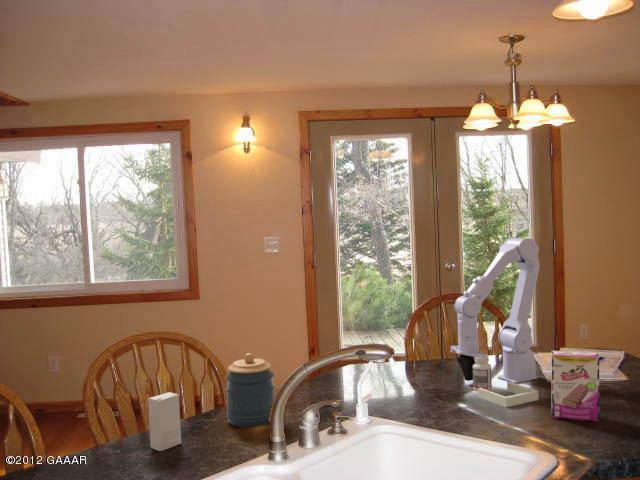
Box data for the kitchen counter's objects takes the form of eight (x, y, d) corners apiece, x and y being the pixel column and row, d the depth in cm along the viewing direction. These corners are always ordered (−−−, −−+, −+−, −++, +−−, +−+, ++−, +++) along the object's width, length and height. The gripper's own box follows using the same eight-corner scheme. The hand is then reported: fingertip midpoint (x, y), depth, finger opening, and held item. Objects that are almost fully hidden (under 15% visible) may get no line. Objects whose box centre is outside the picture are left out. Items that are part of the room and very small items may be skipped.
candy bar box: (552, 419, 153) (550, 354, 152) (551, 412, 158) (550, 350, 157) (600, 422, 149) (599, 356, 149) (598, 416, 154) (597, 352, 153)
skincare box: (171, 440, 148) (168, 391, 147) (182, 444, 145) (180, 394, 144) (149, 448, 143) (146, 397, 142) (160, 452, 140) (158, 400, 139)
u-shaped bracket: (509, 390, 178) (509, 381, 178) (538, 400, 168) (538, 391, 168) (477, 397, 173) (477, 388, 173) (505, 407, 163) (505, 398, 163)
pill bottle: (480, 385, 184) (479, 353, 183) (495, 389, 180) (494, 356, 179) (469, 389, 180) (468, 356, 180) (484, 393, 176) (483, 359, 176)
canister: (236, 431, 152) (233, 361, 151) (220, 417, 163) (217, 352, 163) (284, 421, 158) (281, 354, 157) (265, 408, 169) (262, 345, 169)
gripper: (442, 333, 190) (443, 376, 190) (473, 341, 177) (474, 387, 177) (460, 330, 193) (461, 373, 193) (492, 338, 180) (493, 384, 180)
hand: (468, 380), depth 185 cm, fingers closed
